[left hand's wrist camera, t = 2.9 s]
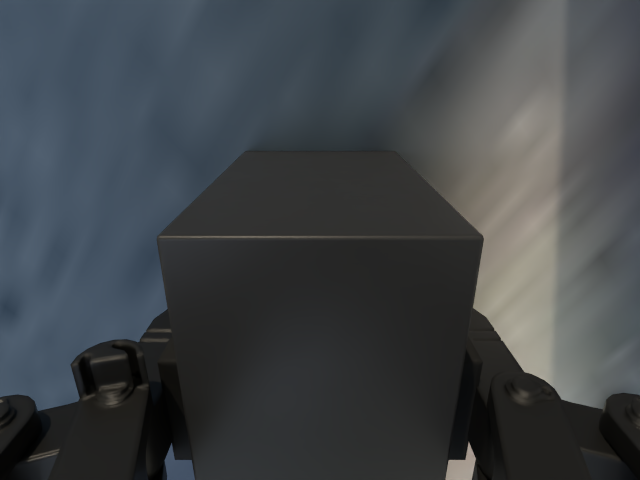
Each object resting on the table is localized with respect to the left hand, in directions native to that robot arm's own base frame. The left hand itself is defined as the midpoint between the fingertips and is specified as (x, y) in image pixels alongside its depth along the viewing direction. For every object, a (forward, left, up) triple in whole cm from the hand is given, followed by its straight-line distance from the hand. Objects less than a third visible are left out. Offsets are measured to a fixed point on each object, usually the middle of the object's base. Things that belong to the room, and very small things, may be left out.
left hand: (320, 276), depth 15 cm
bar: (+8, +4, -1) cm, 9 cm away
